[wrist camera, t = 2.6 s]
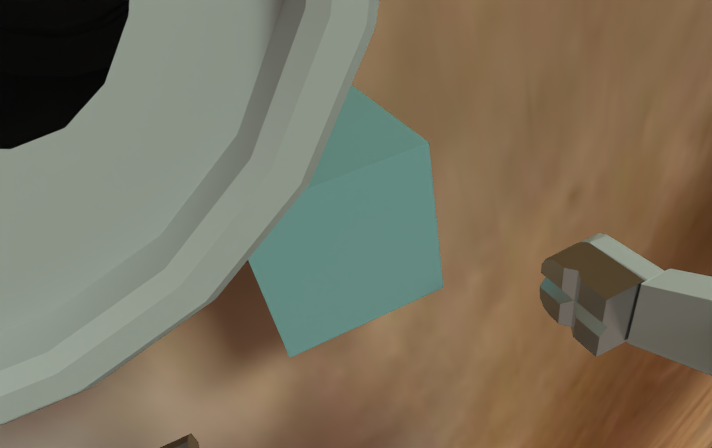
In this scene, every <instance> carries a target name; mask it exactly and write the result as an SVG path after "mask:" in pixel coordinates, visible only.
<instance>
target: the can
mask: <svg viewBox="0 0 712 448" xmlns="http://www.w3.org/2000/svg"><path fill="white" fill-rule="evenodd" d="M378 5H379V0H0V426H1V425H3V424H6V423H8V422H11V421H13V420H15V419H18V418H20V417H23V416H25V415H27V414H30V413H32V412H34V411H37V410H39V409H42V408H44V407H46V406H49V405H51V404H54V403H56V402H58V401H61V400H63V399H66V398H68V397H70V396H73V395H75V394H77V393H80V392H82V391H85V390H87V389H89V388H92V387H93V386H95V385H96V384H97V383H99V382H100V381H102V380H103V379H104V378H106V377H107V376H109V375H110V374H111V373H113V372H114V371H116V370H117V369H118V368H120V367H121V366H123V365H124V364H125V363H127V362H128V361H130V360H131V359H132V358H134V357H135V356H137V355H138V354H139V353H141V352H142V351H144V350H145V349H146V348H148V347H149V346H151V345H152V344H153V343H155V342H156V341H158V340H159V339H160V338H162V337H163V336H165V335H166V334H167V333H169V332H170V331H172V330H173V329H174V328H176V327H177V326H179V325H180V324H181V323H183V322H184V321H186V320H187V319H188V318H190V317H191V316H193V315H194V314H195V313H197V312H198V311H200V310H201V309H202V308H204V307H205V306H207V305H208V304H209V303H211V302H212V301H214V300H215V299H216V298H217V297H218V296H219V295H220V293H221V292H222V291H223V290H224V288H225V287H226V286H227V285H228V283H229V282H230V281H231V280H232V279H233V277H234V276H235V275H236V274H237V272H238V271H239V270H240V269H241V267H242V266H243V265H244V264H245V263H246V261H247V260H248V259H249V258H250V256H251V255H252V254H253V253H254V252H255V250H256V249H257V248H258V247H259V245H260V244H261V243H262V242H263V240H264V239H265V238H266V237H267V236H268V234H269V233H270V232H271V231H272V229H273V228H274V227H275V226H276V224H277V223H278V222H279V221H280V220H281V218H282V217H283V216H284V215H285V213H286V212H287V211H288V210H289V209H290V207H291V206H292V205H293V204H294V202H295V201H296V200H297V199H298V197H299V196H300V195H301V194H302V193H303V191H304V190H305V189H306V188H307V186H308V185H309V184H310V182H311V179H312V177H313V174H314V172H315V170H316V167H317V165H318V163H319V160H320V158H321V155H322V153H323V151H324V148H325V146H326V144H327V141H328V139H329V136H330V134H331V132H332V129H333V127H334V124H335V122H336V120H337V117H338V115H339V113H340V110H341V108H342V105H343V103H344V101H345V98H346V96H347V94H348V91H349V89H350V86H351V84H352V82H353V79H354V77H355V75H356V72H357V70H358V67H359V65H360V63H361V60H362V58H363V56H364V53H365V51H366V48H367V46H368V44H369V41H370V39H371V37H372V34H373V32H374V29H375V27H376V20H377V12H378Z"/></svg>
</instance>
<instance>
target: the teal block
mask: <svg viewBox="0 0 712 448" xmlns="http://www.w3.org/2000/svg"><path fill="white" fill-rule="evenodd" d="M248 261H249V263H250V266H251V268H252V270H253V273H254V275H255V277H256V280H257V282H258V284H259V287H260V289H261V292H262V294H263V296H264V299H265V301H266V303H267V306H268V308H269V310H270V313H271V315H272V317H273V320H274V322H275V325H276V327H277V329H278V332H279V334H280V336H281V339H282V341H283V343H284V346H285V348H286V350H287V353H288V355H289V358H291V357H293V356H295V355H297V354H299V353H302V352H304V351H306V350H308V349H310V348H313V347H315V346H317V345H319V344H321V343H323V342H326V341H328V340H330V339H332V338H334V337H337V336H339V335H341V334H343V333H345V332H347V331H350V330H352V329H354V328H356V327H358V326H361V325H363V324H365V323H367V322H369V321H371V320H374V319H376V318H378V317H380V316H382V315H385V314H387V313H389V312H391V311H393V310H395V309H398V308H400V307H402V306H404V305H406V304H409V303H411V302H413V301H415V300H417V299H419V298H422V297H424V296H426V295H428V294H430V293H433V292H435V291H437V290H439V289H441V288H443V279H442V269H441V259H440V249H439V239H438V229H437V219H436V210H435V200H434V190H433V180H432V170H431V160H430V150H429V142H427V141H426V140H425V139H423V138H422V137H421V136H419V135H418V134H417V133H415V132H414V131H413V130H411V129H410V128H409V127H407V126H406V125H405V124H403V123H402V122H401V121H399V120H398V119H396V118H395V117H394V116H392V115H391V114H390V113H388V112H387V111H386V110H384V109H383V108H382V107H380V106H379V105H378V104H376V103H375V102H374V101H372V100H371V99H370V98H368V97H367V96H366V95H364V94H363V93H362V92H360V91H359V90H358V89H356V88H355V87H354V86H352V85H351V86H350V89H349V91H348V94H347V96H346V98H345V101H344V103H343V105H342V108H341V110H340V113H339V115H338V117H337V120H336V122H335V124H334V127H333V129H332V132H331V134H330V136H329V139H328V141H327V144H326V146H325V148H324V151H323V153H322V155H321V158H320V160H319V163H318V165H317V167H316V170H315V172H314V174H313V177H312V179H311V182H310V184H309V185H308V186H307V188H306V189H305V190H304V191H303V193H302V194H301V195H300V196H299V197H298V199H297V200H296V201H295V202H294V204H293V205H292V206H291V207H290V209H289V210H288V211H287V212H286V213H285V215H284V216H283V217H282V218H281V220H280V221H279V222H278V223H277V224H276V226H275V227H274V228H273V229H272V231H271V232H270V233H269V234H268V236H267V237H266V238H265V239H264V240H263V242H262V243H261V244H260V245H259V247H258V248H257V249H256V250H255V252H254V253H253V254H252V255H251V256H250V258H249V259H248Z"/></svg>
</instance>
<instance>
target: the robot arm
mask: <svg viewBox="0 0 712 448" xmlns="http://www.w3.org/2000/svg"><path fill="white" fill-rule="evenodd" d="M541 273H542V274H543V275H544V276H545V277H546V278H545V279H544V281H543V283H542V284H541V286H540V299H541V301H542V304H543V306H544V308H545V310H546V311H547V312H548V314H549V315H550V316H551V317H552V318H553V319H554V320H555V321H556V322H557V323H558V324H562V325H565V326H569V327H571V329H572V334H573V337H574V338H575V339H576V340H577V341H578V342H580V343H581V344H582V345H583V346H584V347H585V348H586V349H587V350H589V351H590V352H591V353H592V354H593V355H594V356H595V357H597V356H599V355H601V354H603V353H605V352H607V351H609V350H611V349H613V348H615V347H616V346H618V345H620V344H622V343H624V342H626V341H627V343H628V344H630V345H633V346H636V347H638V348H641V349H644V350H646V351H649V352H651V353H654V354H657V355H659V356H662V357H664V358H667V359H670V360H672V361H675V362H678V363H680V364H683V365H685V366H688V367H691V368H693V369H696V370H698V371H701V372H704V373H706V374H709V375H712V277H711V276H706V275H701V274H696V273H691V272H686V271H681V270H676V269H671V268H670V269H667V270H665V271H664V270H662V269H661V268H659V267H658V266H656V265H654V264H653V263H651V262H650V261H648V260H646V259H645V258H643V257H642V256H640V255H639V254H637V253H635V252H634V251H632V250H631V249H629V248H627V247H626V246H624V245H623V244H621V243H619V242H618V241H616V240H615V239H613V238H611V237H610V236H608V235H606V234H602V233H598V234H596V235H594V236H592V237H590V238H588V239H586V240H584V241H582V242H580V243H576V244H574V245H572V246H570V247H568V248H566V249H564V250H563V251H561V252H559V253H557V254H555V255H553V256H551V257H549V258H547V259H545V260H544V262H543V263H542V266H541ZM160 448H199V443H198V441H197V440H196V439H195V437H194V436H193V435H192V434H189V435H186V436H184V437H182V438H180V439H178V440H176V441H173V442H171V443H169V444H167V445H165V446H162V447H160ZM711 448H712V447H711Z"/></svg>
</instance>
